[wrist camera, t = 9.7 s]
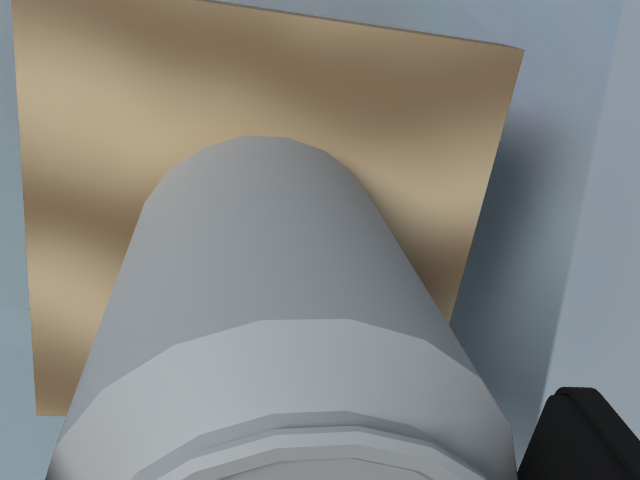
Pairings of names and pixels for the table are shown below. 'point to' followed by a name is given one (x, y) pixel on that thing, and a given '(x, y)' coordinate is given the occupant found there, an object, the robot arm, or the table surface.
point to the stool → (233, 135)
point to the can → (275, 339)
